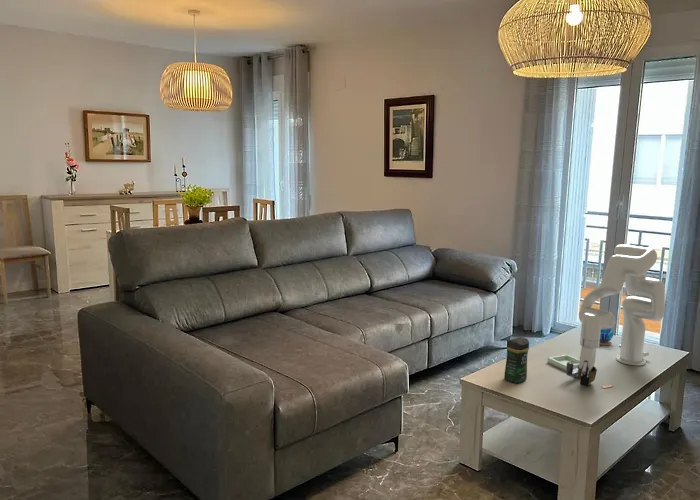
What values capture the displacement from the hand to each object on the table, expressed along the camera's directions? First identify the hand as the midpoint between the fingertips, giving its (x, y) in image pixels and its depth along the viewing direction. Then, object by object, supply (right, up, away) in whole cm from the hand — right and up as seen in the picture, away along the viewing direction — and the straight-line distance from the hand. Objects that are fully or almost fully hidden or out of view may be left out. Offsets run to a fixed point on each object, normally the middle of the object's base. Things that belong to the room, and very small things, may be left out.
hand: (586, 382), depth 229 cm
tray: (+1, +2, +23) cm, 23 cm away
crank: (-1, +2, +7) cm, 8 cm away
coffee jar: (-28, 0, +5) cm, 29 cm away
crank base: (+3, 0, +11) cm, 11 cm away
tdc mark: (+8, -2, -2) cm, 8 cm away
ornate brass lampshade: (0, -2, 0) cm, 2 cm away
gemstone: (+33, +7, +55) cm, 64 cm away
